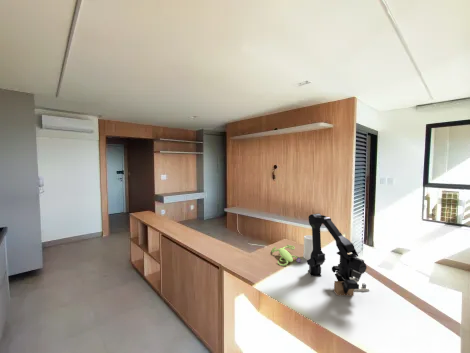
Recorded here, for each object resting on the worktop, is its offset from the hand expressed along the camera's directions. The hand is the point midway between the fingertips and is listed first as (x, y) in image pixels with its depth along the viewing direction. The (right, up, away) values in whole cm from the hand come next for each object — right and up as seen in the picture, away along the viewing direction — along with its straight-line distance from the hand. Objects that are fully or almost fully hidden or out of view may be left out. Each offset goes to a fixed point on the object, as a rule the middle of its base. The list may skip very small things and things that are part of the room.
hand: (343, 291), depth 121 cm
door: (0, -1, 0) cm, 1 cm away
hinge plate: (+10, -1, +7) cm, 12 cm away
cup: (-5, +3, +42) cm, 42 cm away
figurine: (-23, +3, +43) cm, 49 cm away
